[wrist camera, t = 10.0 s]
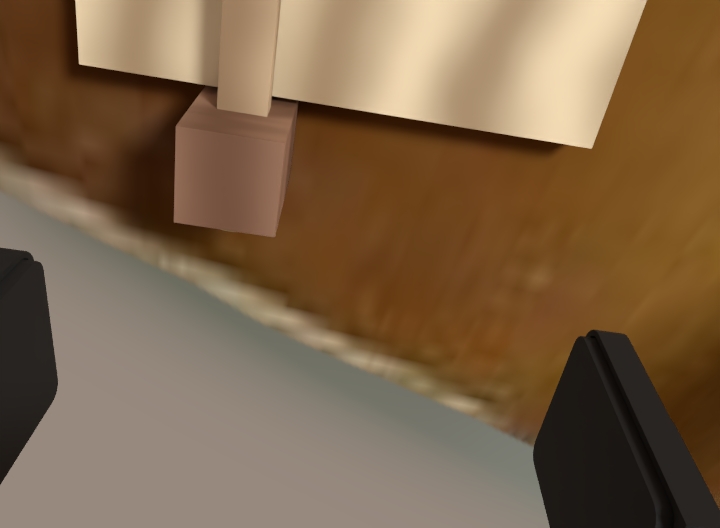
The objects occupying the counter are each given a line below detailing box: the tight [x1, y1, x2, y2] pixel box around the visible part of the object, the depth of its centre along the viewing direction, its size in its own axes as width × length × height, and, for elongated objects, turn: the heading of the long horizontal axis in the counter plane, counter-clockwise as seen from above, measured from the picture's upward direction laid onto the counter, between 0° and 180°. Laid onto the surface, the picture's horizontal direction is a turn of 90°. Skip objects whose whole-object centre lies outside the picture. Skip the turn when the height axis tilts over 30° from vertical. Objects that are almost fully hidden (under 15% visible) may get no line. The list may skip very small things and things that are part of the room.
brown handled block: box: [174, 0, 299, 237], centre depth 25 cm, size 4×13×6 cm, turn 171°
